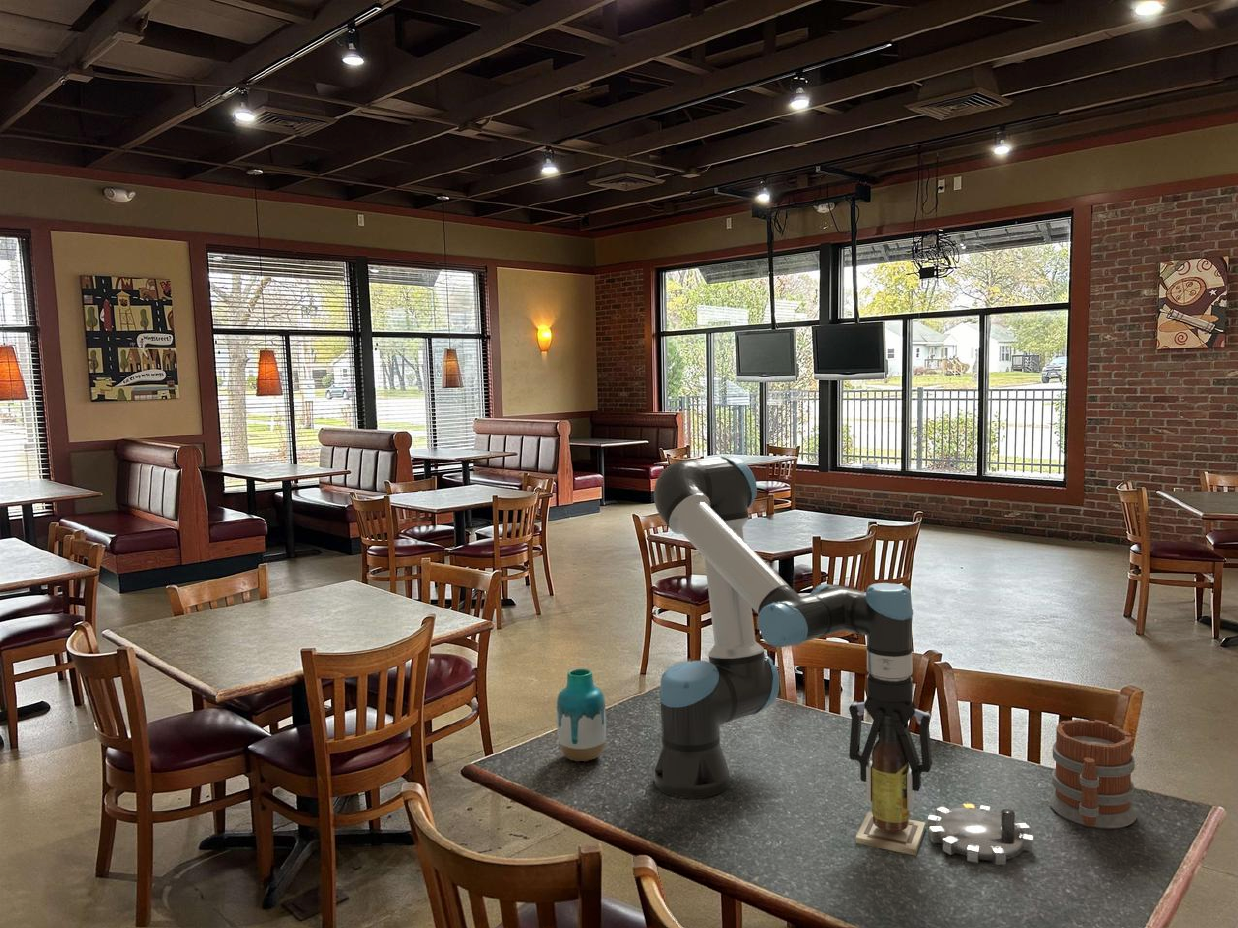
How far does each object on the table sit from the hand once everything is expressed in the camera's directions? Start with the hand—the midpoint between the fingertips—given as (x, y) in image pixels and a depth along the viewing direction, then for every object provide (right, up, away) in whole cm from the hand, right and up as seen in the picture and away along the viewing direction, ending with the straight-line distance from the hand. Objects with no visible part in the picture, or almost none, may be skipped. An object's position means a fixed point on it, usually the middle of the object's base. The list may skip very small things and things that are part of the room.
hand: (890, 802), depth 153 cm
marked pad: (0, -6, +1) cm, 6 cm away
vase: (-55, -5, +37) cm, 66 cm away
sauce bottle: (0, -4, 0) cm, 4 cm away
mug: (+37, -4, +4) cm, 38 cm away
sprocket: (+14, -6, -3) cm, 16 cm away
